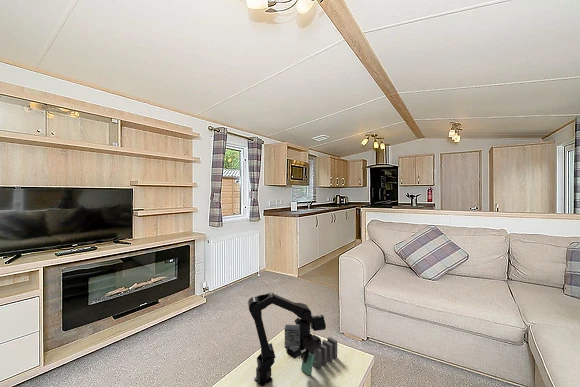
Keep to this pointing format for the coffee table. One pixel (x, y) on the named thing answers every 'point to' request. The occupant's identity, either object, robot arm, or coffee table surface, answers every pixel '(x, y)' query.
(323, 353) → the tile
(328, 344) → the tile
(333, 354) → the tile
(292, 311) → the robot arm
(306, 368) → the tile
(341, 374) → the coffee table surface
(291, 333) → the small box
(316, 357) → the tile
